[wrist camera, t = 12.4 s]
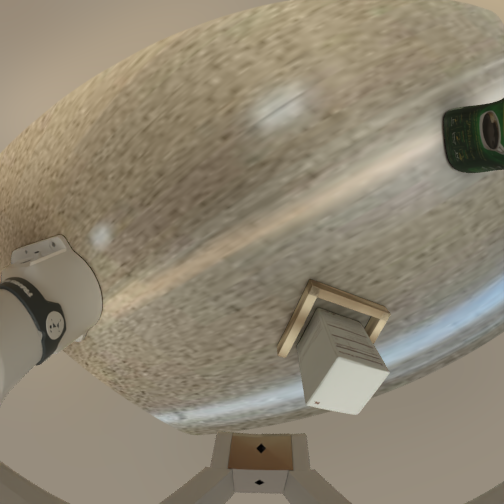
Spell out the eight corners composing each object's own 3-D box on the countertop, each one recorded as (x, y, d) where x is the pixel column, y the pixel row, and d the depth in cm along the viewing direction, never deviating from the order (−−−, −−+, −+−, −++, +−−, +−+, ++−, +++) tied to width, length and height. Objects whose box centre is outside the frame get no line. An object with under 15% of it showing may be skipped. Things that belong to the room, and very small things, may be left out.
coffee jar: (480, 174, 32) (568, 183, 14) (444, 170, 32) (539, 176, 14) (474, 114, 29) (558, 99, 11) (437, 106, 30) (525, 78, 12)
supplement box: (337, 360, 40) (356, 417, 28) (294, 346, 40) (303, 406, 28) (361, 320, 38) (392, 372, 26) (317, 304, 38) (337, 357, 26)
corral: (348, 366, 41) (352, 375, 38) (277, 345, 40) (277, 355, 38) (384, 306, 38) (390, 313, 35) (309, 278, 37) (312, 285, 35)
